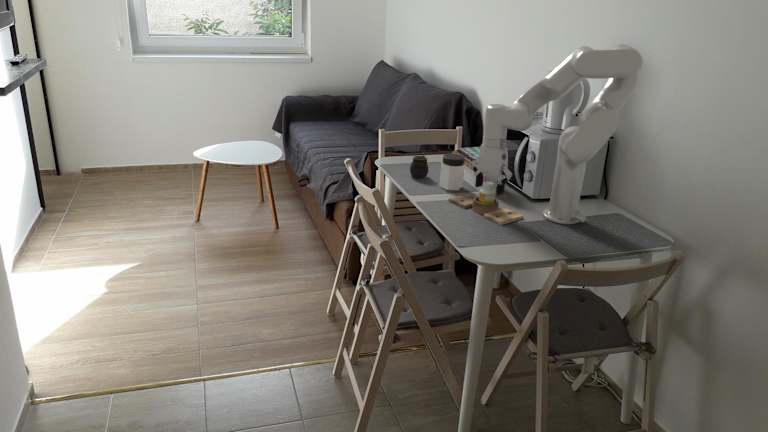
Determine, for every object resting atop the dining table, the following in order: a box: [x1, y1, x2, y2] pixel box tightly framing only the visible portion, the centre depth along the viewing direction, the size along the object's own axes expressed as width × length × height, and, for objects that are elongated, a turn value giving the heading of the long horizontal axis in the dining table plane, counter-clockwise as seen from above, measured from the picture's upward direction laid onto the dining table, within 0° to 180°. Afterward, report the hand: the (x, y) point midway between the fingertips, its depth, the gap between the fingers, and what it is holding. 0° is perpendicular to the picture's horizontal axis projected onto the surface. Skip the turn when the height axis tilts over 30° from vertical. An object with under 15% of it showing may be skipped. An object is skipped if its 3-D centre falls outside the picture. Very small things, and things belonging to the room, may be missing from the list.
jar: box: [438, 152, 466, 191], centre depth 238 cm, size 9×8×12 cm
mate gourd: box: [409, 150, 429, 179], centre depth 248 cm, size 7×8×10 cm
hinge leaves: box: [448, 192, 524, 226], centre depth 220 cm, size 25×11×4 cm, turn 39°
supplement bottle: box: [478, 182, 496, 204], centre depth 219 cm, size 5×5×10 cm
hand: (489, 190), depth 218 cm, fingers open, 9 cm apart
